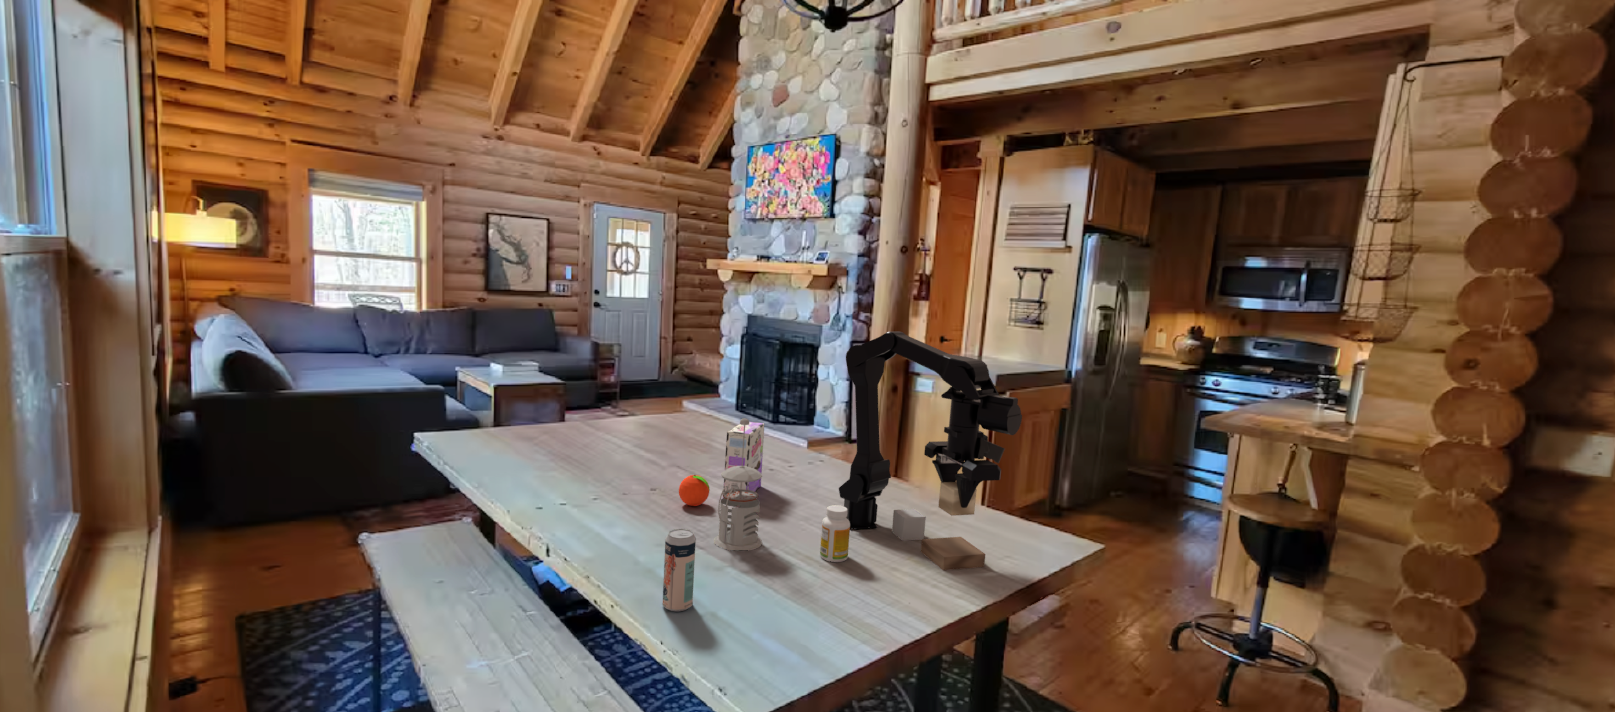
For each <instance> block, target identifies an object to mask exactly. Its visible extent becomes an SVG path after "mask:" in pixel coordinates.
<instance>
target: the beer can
mask: <svg viewBox="0 0 1615 712" xmlns="http://www.w3.org/2000/svg"><path fill="white" fill-rule="evenodd" d="M696 542H697V538H696V535H695V533H694V531H692V530H690V529H685V528H676V529H675V528H673V530H669V532H668V534H667V535H666V536H665V539H664V543H665V544H664V565H663V585H662V586H663V589H662V606H663V608H665V609H667V610H668V611H670V612H675V613H676V612H677V613H678V612H684V611H686V610H687V609H690V608H691V607H692V606H693V604H694V600H693V599H694V597H693V596H694V581H695V580H694V578H695V563H696V562H695V559H696Z"/></svg>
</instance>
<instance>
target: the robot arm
mask: <svg viewBox="0 0 1615 712" xmlns="http://www.w3.org/2000/svg"><path fill="white" fill-rule="evenodd" d="M896 355H898V356H901V357H903V358H905V359H907V360H909V361H911V362H914V363H915V364H918V365H920V366H922V367H923V368H926V369H929V370H931V371H933V372H935V374H937V375H938V376H939V377H940V378H941V379H942V381H943V382H944V383H946V384H948V385H949V386H950V387H949V388H948V390H946V391H945V392H943V393H942V394H941V396H940V397H941V398H942V399H947V400H951V401H950V409H949V410H950V411H949V422H948V426H944V429H943V433H945V434H947V441H940V440H939V441H929V442H928V443H926V445H924V453H923V454H924V456H926V457H927V458H929V459H932V460H931V463H932V464H933V466H934V468H935V471H936V473H937V475H938V478H939V480H940V483H941V482H957V488H958V494H959V500H960V504H961V507H962V508H967V506H968V504H969V502H970V500H971V498H972V496H973V494H974V491H975V490H976V489H977V488H978V486H979V484H980V483H982V482H983V481H984V482H987V481H988V482H989V481H1000V480H1001V474H1002V468H1000V466H999V465H998V464H999V463H1000V462H1001V459H1002V457H1003V454H1004V452H1005V450H1006V448H1004V447H1002V446H1000V445H997V444H995V443H993V442H991V441H989V437H988V435H985V433H984V432H983V431H980V426H981V428H982V429H983V430H987V431H992V432H996V433H1001V434H1006V435H1010V436H1014V435H1016V434H1017V433H1018V431H1019V429H1020V427H1021V425H1022V419H1023V414H1022V411H1021V407H1020V406H1019V404H1018V402H1019V399H1018V397H1013V396H1010V397H1009V396H1007V397H1006V396H1002V395H1000V394H999V391H998V390H997V388H996V385H995V384H994V382H993V380H992V378H991V377H990V371H989V368H988V364H986V362H984V361H983V360H980V359H978V358H972V357H968V356H964V355H963V356H961V355H957V354H951V353H947V352H945V351H944V350H941V349H939V348H936V347H934V346H931V344H930V345H929V344H928V343H925V342H922V341H920V340H918V339H916V338H913V337H911V336H910V335H907V334H906V333H904V332H902V331H887V332H885V333H883V334H882V335H880V336H879V337H876V338H874V339H871V340H868V341H867V342H864V343H862V344H855V345H852V346H851V347H850V348H849V349H848V350H847V351H846V354H845V362H846V363H845V364H846V367H847V368H846V369H847V374H848V376H849V378H850V380H851V381H852V383H853V385H854V393H855V394H854V396H855V399H854V401H855V423H856V426H855V428H856V432H855V434H856V435H855V436H856V453H855V455H854V458H853V460H852V463H851V465H850V471H849V478H848V480H846V481H845V482H843V484H841V485H840V486H839V487H838V492H839V497H840V499H843V500H844V501H843V506H844V507H846V508H847V509H848V511H847V517H846V518H847V519H848V520H849V522H850V530H861V529H862V530H863V529H877V528H878V524H876V522H877V517H878V506H879V505H878V504H877V497H880V496H881V495H882V493H883V490H885V489H886V487H887V486H889V481H890V479H891V478H892V476H891V470H890V467H891V462H890V461H891V460H890V459H885V458H884V456H883V455H882V453H881V450H880V449H881V448H880V419H879V418H880V416H879V414H880V413H879V388H878V387H879V383H880V382H881V379H882V377H883V374H884V373H885V363H886V361H888V360H890V359H892V358H894V357H895V356H896ZM933 458H935V459H933ZM984 458H986V459H984ZM988 459H989V460H988ZM991 460H992V461H991ZM993 461H994V462H993ZM960 470H961V472H962V473H960V472H959V471H960ZM958 472H959V473H958Z"/></svg>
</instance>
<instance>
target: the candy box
mask: <svg viewBox="0 0 1615 712" xmlns="http://www.w3.org/2000/svg"><path fill="white" fill-rule="evenodd" d="M764 434H765V423H763V422H757V421H756V422H754V421H749V425H745V437H744V454H743V466H747V467H751V468H754V469H756V470H757V471H759V472H760V473H761V474H762V471H763V469H762V468H763V454H764V453H763V452H764V438H765V437H764V436H765V435H764ZM743 435H744V425H741V424H740V423H739V424H737V425H736V426H733V428H731V429H730V430H727V431H726V441H725V442H726V443H725V444H726V445H725V459H724V471H725V470H727V469H728V468H730V467H734V466H742V452H743ZM762 475H763V474H762ZM725 486H728V490H729V489H732V488H733V487H735V489H736V488H737V489H740V486H741V482H732V481H728V480H725V479H724V478H723V489H724V488H725ZM760 487H762V477H761V478H760V479H759V480H757V481H753V482H742V488H741V489H745V490H746V489H747V490H751V491H755V492H756V491H757V490H758V489H760ZM726 490H727V487H726V488H725V489H724V491H723V490H722V491H723V492H725V491H726ZM723 498H724V497H723V496H722V499H723Z"/></svg>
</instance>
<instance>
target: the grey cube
mask: <svg viewBox="0 0 1615 712" xmlns="http://www.w3.org/2000/svg"><path fill="white" fill-rule="evenodd" d="M892 514H893V515H892V525H891V526H892V528H891V533H892V534H894V535H895V534H896V535H897V536H898V537H899V540H901V541H902V542H906V541H918V540H921V541H922V539H925V529H926V518H927V517H926V516H925V515H924V514H922V513H921V512H920V511H918V510H917V509H915V508H906V509H905V508H904V509H894V510H893V513H892ZM896 535H895V536H896ZM897 536H896V537H897ZM898 537H897V538H898Z"/></svg>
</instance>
